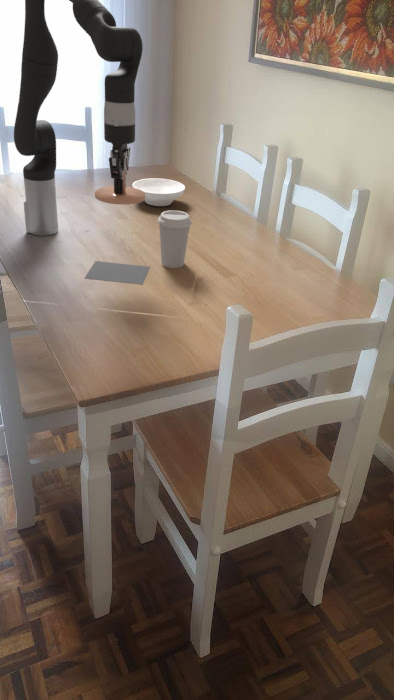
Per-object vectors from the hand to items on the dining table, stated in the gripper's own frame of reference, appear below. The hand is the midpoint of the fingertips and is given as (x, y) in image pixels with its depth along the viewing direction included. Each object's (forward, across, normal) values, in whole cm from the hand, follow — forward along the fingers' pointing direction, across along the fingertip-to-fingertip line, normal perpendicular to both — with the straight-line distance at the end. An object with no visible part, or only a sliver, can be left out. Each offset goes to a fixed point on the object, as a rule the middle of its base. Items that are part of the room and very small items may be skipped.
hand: (119, 191), depth 148 cm
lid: (+1, 0, 0) cm, 1 cm away
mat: (+23, 0, 0) cm, 23 cm away
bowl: (+23, -65, 0) cm, 69 cm away
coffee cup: (+23, -10, +13) cm, 29 cm away
